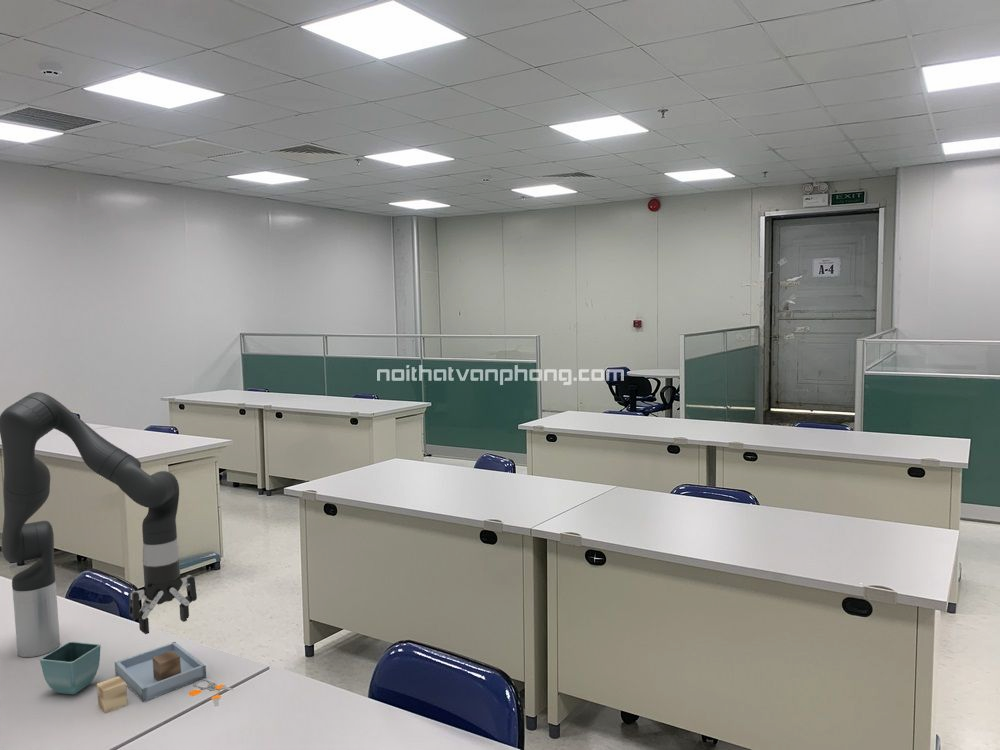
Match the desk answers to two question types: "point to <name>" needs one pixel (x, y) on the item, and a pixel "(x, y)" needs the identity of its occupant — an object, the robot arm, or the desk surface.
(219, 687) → the key chain
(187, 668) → the tray
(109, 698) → the oak block
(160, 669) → the walnut block
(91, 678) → the flower pot
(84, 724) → the desk surface
